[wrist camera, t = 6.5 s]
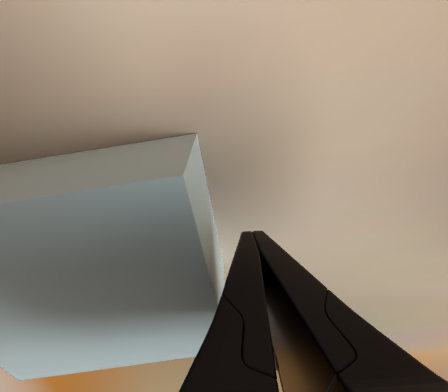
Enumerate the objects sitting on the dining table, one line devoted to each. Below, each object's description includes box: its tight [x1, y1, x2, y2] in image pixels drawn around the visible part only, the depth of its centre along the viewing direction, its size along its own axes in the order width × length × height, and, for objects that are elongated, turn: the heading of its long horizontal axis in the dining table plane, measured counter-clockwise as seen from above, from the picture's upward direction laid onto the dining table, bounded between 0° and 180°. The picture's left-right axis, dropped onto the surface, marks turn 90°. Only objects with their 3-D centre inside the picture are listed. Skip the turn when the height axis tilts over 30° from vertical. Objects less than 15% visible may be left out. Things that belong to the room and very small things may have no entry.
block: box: [0, 133, 225, 381], centre depth 9 cm, size 8×9×5 cm
